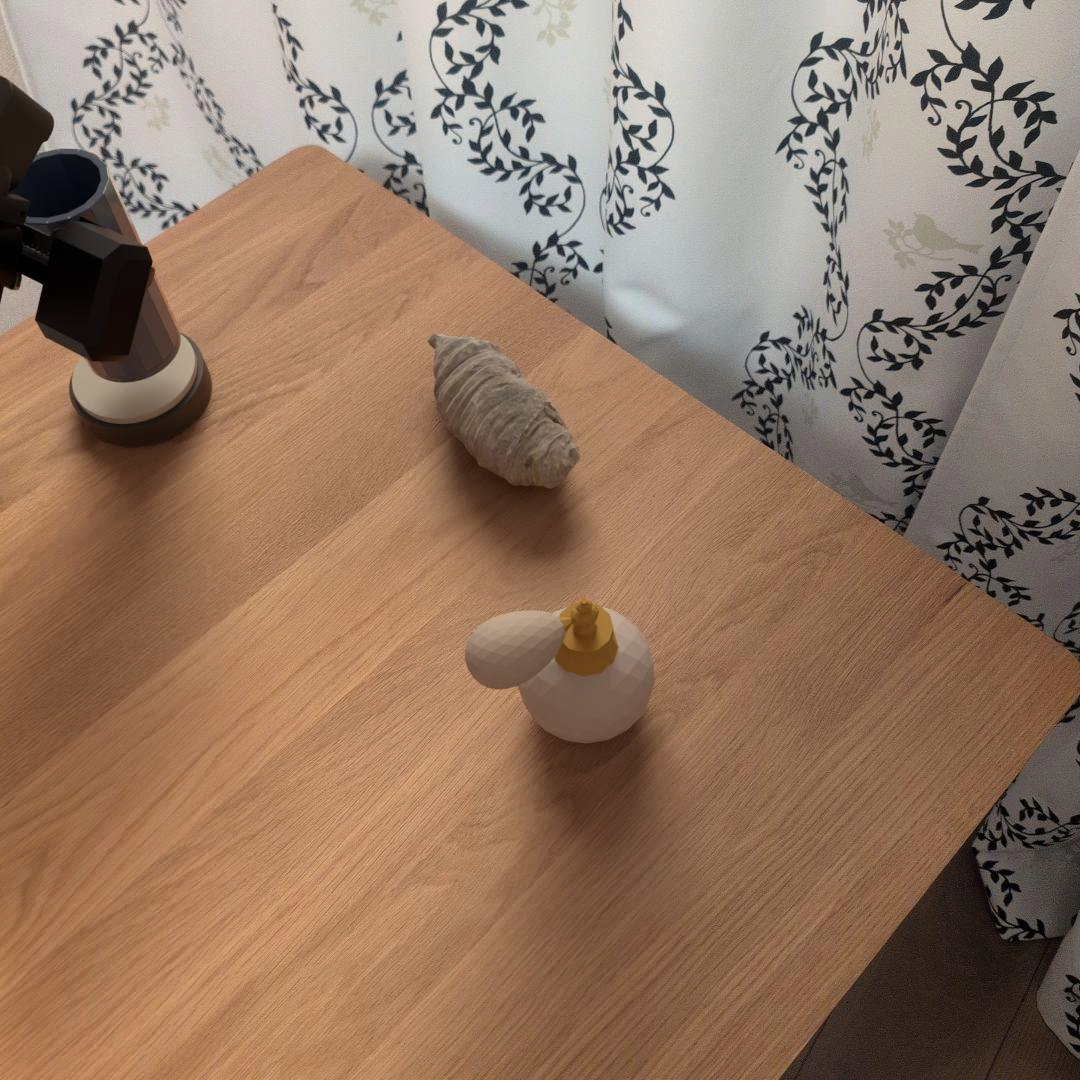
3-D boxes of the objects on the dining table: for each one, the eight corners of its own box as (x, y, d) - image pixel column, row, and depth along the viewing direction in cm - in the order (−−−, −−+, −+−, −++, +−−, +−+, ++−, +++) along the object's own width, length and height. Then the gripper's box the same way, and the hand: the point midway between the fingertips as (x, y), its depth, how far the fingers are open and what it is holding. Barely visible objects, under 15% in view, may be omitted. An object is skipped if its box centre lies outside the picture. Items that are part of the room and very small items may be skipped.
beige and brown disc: (97, 466, 76) (82, 442, 73) (67, 372, 80) (52, 347, 78) (228, 417, 77) (217, 393, 75) (191, 328, 82) (180, 302, 80)
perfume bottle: (678, 690, 66) (693, 586, 55) (570, 819, 62) (565, 733, 52) (576, 617, 68) (572, 505, 58) (467, 737, 65) (442, 640, 54)
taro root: (478, 312, 78) (472, 270, 70) (591, 476, 76) (598, 453, 68) (399, 363, 77) (384, 327, 69) (511, 529, 76) (509, 512, 68)
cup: (168, 384, 72) (91, 224, 61) (75, 381, 72) (-19, 222, 61) (191, 313, 75) (121, 149, 64) (101, 310, 75) (17, 147, 64)
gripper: (48, 120, 49) (271, 175, 63) (-234, -3, 55) (28, 72, 69) (-6, 366, 52) (218, 365, 66) (-267, 225, 58) (-10, 252, 72)
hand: (111, 257), depth 68 cm, fingers closed on cup, 6 cm apart
